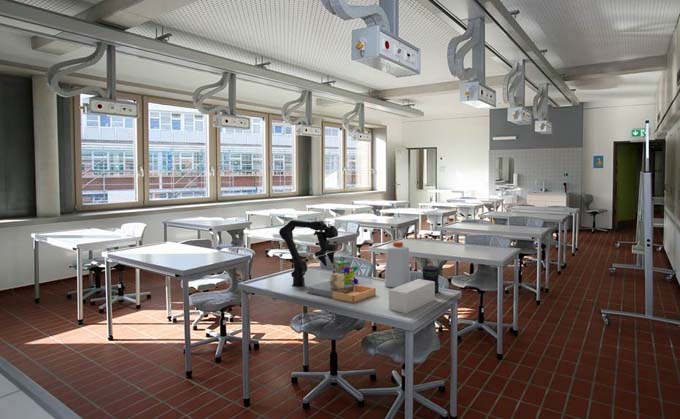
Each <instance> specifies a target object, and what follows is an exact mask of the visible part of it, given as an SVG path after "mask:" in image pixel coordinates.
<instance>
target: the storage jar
mask: <svg viewBox="0 0 680 419" xmlns="http://www.w3.org/2000/svg"><path fill="white" fill-rule="evenodd" d="M439 269H440V267H439V266H436V265H435V266H434V265H425V266H422V280H428V281H434V282H435V294H439V288H440V286H439V285H440V283H439V277H440V276H439V274H440V272H439V271H440V270H439Z"/></svg>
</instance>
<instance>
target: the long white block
mask: <svg viewBox="0 0 680 419" xmlns="http://www.w3.org/2000/svg"><path fill="white" fill-rule="evenodd" d="M435 294H436V293H435V282H434V281H428V280H423V278H422V279H421V278H418V279H415V280H411V282H409V283H406V284H403V285H401V286H398V287H395V288H390V289H389V290H388V310H390V311H396V312H398V313H399V312H400V313H405V314H407V313H410V312H411V311H413V310H415V309H417V308H420V307H422V306H424V305H426V304H428V303H431V302H432V301H434V300H435V297H436V296H435Z"/></svg>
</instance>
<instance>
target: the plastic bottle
mask: <svg viewBox="0 0 680 419" xmlns="http://www.w3.org/2000/svg"><path fill="white" fill-rule="evenodd" d="M409 248H410V247H409V246H407V245H404V243H403V242H402V241H394V242H393V244H392V245H391V246H388V247H387V249H386V256H385V257H386V259H385V272H384V286H385V287H387V288H391V289H393V288H395V287H398V286H401V285H403V284H406V283H409V282H411V281H412V279H411V278H412V277H411V263H410V262H411V261H410V249H409Z"/></svg>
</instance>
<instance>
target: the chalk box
mask: <svg viewBox="0 0 680 419" xmlns="http://www.w3.org/2000/svg"><path fill="white" fill-rule="evenodd" d="M339 259H340V260H334V263H333V264H332V274H334V273H340V274H342V273H343V272H344V268H345V267H346V266H348V267H349V268H351V262H350V261H347V260H345V257H344V256H340V258H339ZM349 270H350V271H351V269H349ZM344 275H349V274H348V273H347V272H345V274H344ZM344 277H345V278H346V279H348V278H349V276H344Z"/></svg>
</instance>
